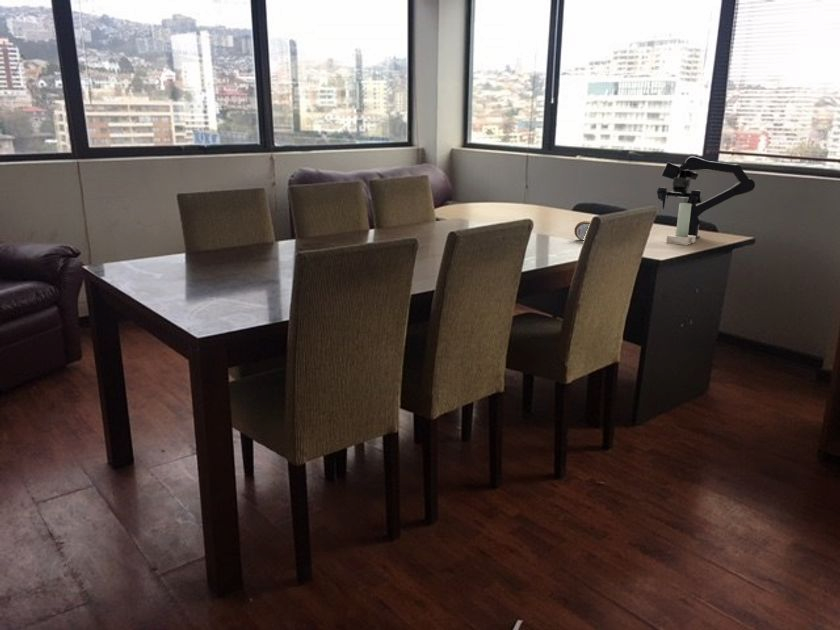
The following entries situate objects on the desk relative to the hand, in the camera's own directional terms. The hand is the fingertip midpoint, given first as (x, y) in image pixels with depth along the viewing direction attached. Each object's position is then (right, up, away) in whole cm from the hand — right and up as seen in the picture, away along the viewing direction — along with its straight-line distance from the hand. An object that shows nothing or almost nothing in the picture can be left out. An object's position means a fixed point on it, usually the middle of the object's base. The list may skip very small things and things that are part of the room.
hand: (673, 209), depth 304 cm
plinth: (+3, -15, -1) cm, 15 cm away
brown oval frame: (-37, -14, -1) cm, 40 cm away
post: (+3, -12, -2) cm, 12 cm away
